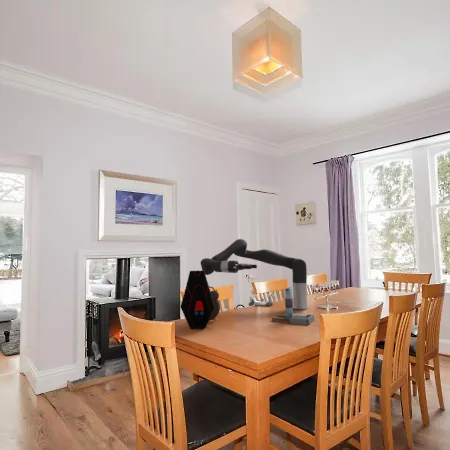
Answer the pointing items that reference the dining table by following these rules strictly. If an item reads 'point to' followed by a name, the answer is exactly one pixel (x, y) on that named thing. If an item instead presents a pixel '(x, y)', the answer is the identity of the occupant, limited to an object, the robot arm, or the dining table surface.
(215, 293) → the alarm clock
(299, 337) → the dining table surface
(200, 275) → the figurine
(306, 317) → the chip
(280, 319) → the slot rails
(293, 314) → the chip
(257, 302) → the phone holder
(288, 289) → the rod
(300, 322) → the tray
